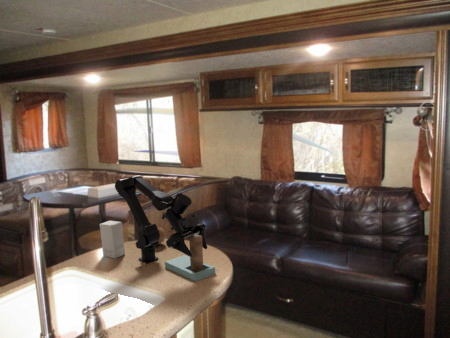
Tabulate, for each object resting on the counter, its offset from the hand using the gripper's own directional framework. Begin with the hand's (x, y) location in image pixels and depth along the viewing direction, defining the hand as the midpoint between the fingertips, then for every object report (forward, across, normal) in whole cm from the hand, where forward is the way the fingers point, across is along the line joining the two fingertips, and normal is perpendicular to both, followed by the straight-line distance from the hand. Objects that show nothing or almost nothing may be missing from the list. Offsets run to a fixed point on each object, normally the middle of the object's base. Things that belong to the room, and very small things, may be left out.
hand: (199, 252), depth 139 cm
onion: (-23, +15, +36) cm, 45 cm away
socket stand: (+2, +1, +11) cm, 11 cm away
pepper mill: (+5, 0, +8) cm, 9 cm away
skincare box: (-27, -5, +40) cm, 49 cm away
